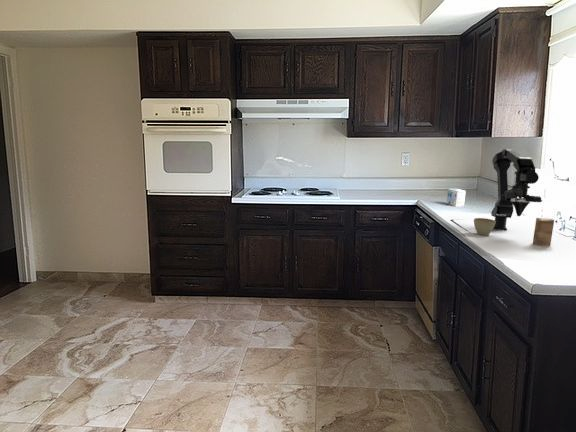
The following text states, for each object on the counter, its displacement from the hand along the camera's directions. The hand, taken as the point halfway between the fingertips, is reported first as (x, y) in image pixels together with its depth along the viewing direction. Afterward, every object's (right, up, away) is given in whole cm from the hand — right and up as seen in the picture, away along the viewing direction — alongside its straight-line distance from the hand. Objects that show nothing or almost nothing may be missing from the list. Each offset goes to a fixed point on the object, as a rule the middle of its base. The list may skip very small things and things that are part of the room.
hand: (518, 216), depth 228 cm
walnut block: (+5, -13, -11) cm, 18 cm away
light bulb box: (+2, +7, +92) cm, 93 cm away
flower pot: (-15, -9, +5) cm, 18 cm away
